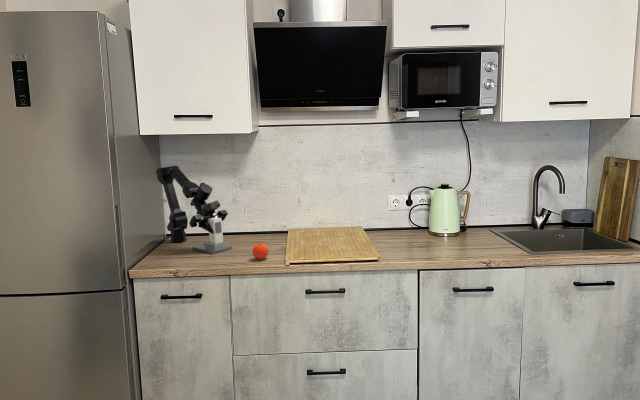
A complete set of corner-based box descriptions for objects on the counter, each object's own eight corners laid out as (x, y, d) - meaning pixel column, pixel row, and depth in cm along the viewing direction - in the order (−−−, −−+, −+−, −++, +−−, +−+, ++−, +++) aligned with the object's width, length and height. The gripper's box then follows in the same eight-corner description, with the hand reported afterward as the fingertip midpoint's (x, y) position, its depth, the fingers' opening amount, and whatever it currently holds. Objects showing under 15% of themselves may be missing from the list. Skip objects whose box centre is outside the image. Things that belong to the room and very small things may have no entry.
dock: (192, 249, 234) (191, 240, 233) (211, 244, 242) (211, 236, 241) (212, 254, 223) (211, 245, 223) (232, 249, 231) (231, 240, 231)
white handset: (210, 246, 230) (207, 218, 228) (217, 244, 233) (215, 217, 231) (216, 247, 227) (213, 219, 224) (223, 245, 230) (221, 218, 228)
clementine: (251, 257, 215) (250, 241, 214) (266, 255, 217) (265, 239, 216) (254, 262, 208) (253, 245, 207) (270, 260, 210) (269, 243, 209)
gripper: (190, 198, 222) (206, 225, 216) (224, 193, 235) (240, 218, 230) (182, 214, 228) (198, 240, 223) (215, 207, 242) (230, 232, 236)
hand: (217, 232), depth 228 cm, fingers open, 4 cm apart
